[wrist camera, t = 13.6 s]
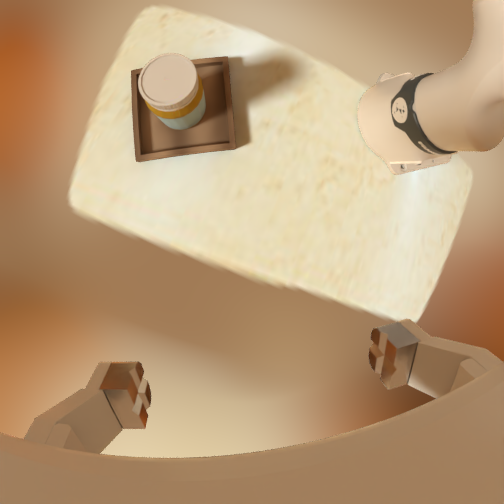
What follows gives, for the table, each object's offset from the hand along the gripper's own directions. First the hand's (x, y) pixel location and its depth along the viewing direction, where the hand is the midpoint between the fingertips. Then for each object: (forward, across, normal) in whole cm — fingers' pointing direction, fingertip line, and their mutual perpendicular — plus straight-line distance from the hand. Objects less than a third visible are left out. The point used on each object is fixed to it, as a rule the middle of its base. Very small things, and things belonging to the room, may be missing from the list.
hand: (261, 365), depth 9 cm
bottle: (+36, +5, -17) cm, 41 cm away
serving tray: (+37, +5, -17) cm, 41 cm away
